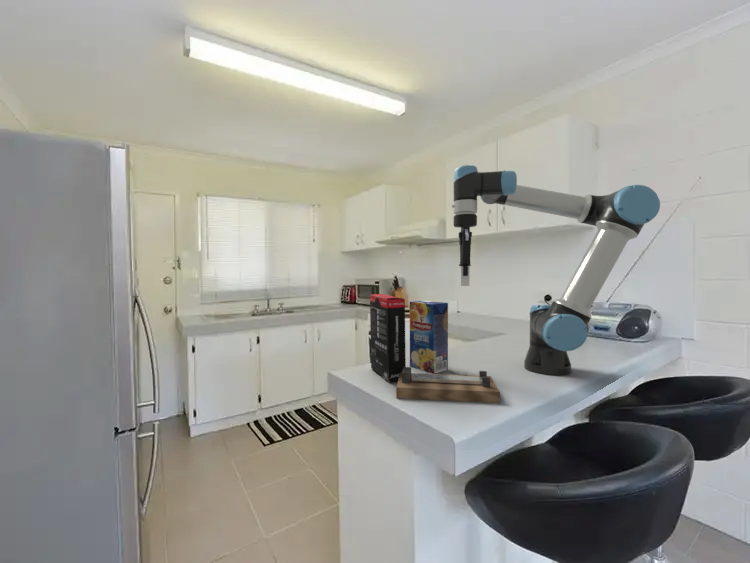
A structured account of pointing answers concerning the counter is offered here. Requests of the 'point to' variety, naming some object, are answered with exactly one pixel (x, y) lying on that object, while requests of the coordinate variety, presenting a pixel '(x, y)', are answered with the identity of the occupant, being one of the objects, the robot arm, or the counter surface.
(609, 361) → the counter surface
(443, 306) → the juice carton
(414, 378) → the latch bar
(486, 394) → the plate
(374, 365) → the graphics card box
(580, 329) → the robot arm
